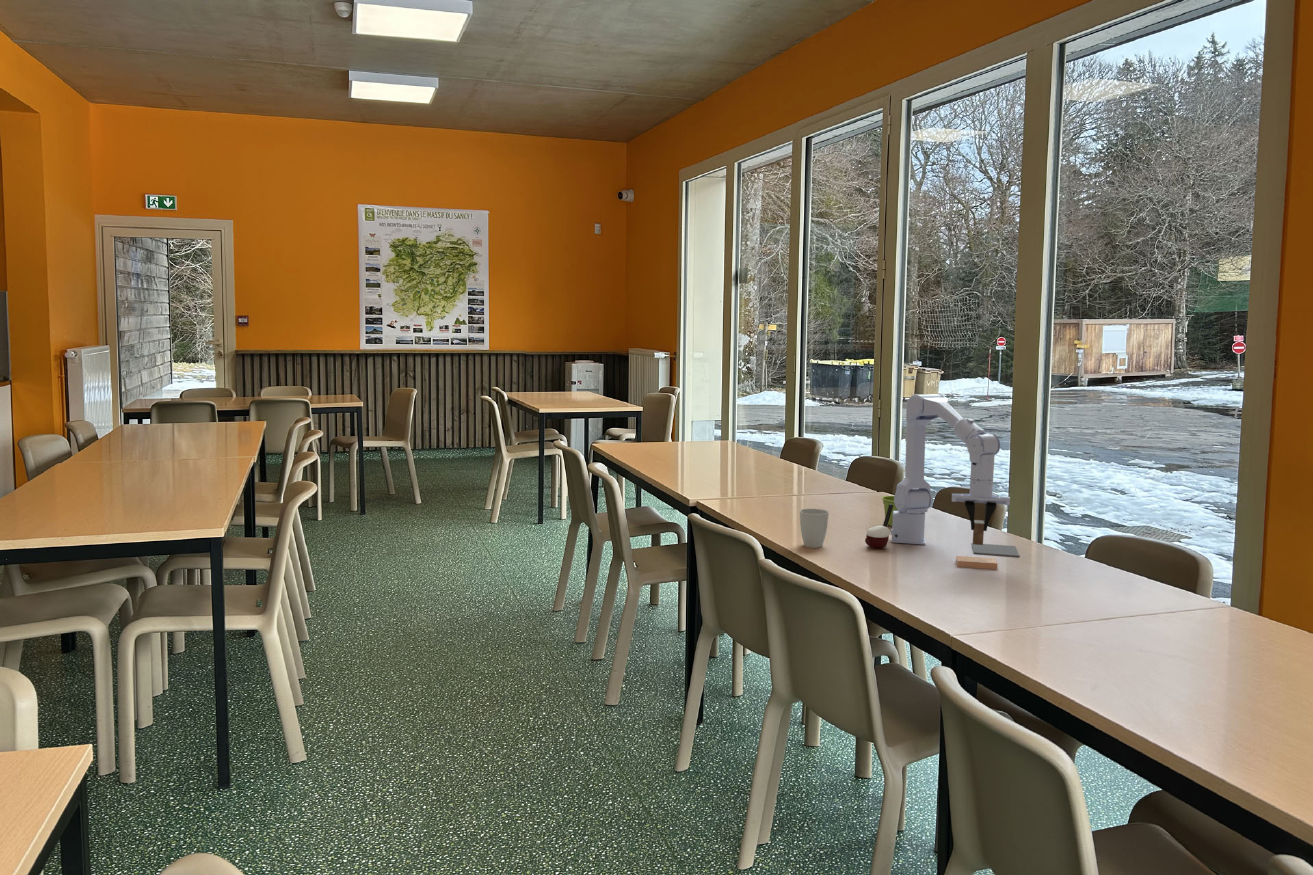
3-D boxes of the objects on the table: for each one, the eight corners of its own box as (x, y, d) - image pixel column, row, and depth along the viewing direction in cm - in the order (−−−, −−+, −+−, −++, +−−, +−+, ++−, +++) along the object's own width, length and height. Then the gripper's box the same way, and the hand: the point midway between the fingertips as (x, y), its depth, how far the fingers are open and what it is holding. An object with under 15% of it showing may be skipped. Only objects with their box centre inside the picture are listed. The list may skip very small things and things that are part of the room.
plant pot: (908, 522, 305) (909, 496, 304) (913, 528, 296) (914, 501, 295) (878, 521, 306) (879, 495, 305) (882, 527, 297) (883, 500, 296)
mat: (973, 553, 264) (973, 552, 264) (971, 544, 276) (971, 542, 276) (1019, 557, 261) (1019, 555, 261) (1015, 547, 273) (1015, 546, 273)
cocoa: (866, 551, 267) (867, 510, 265) (859, 545, 273) (859, 505, 271) (899, 549, 268) (899, 508, 266) (890, 543, 274) (891, 503, 272)
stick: (972, 544, 252) (974, 523, 251) (972, 540, 255) (974, 519, 253) (982, 545, 252) (984, 523, 250) (982, 541, 254) (983, 520, 252)
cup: (826, 542, 275) (827, 509, 274) (828, 549, 267) (829, 514, 266) (798, 541, 276) (799, 508, 275) (799, 548, 268) (800, 513, 267)
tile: (955, 562, 256) (957, 568, 250) (955, 555, 256) (957, 560, 250) (994, 565, 254) (997, 570, 248) (995, 558, 254) (997, 563, 248)
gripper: (953, 480, 248) (950, 530, 250) (1012, 483, 244) (1008, 535, 246) (952, 476, 255) (949, 525, 257) (1009, 479, 251) (1006, 529, 253)
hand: (978, 529), depth 252 cm, fingers closed on stick, 2 cm apart
